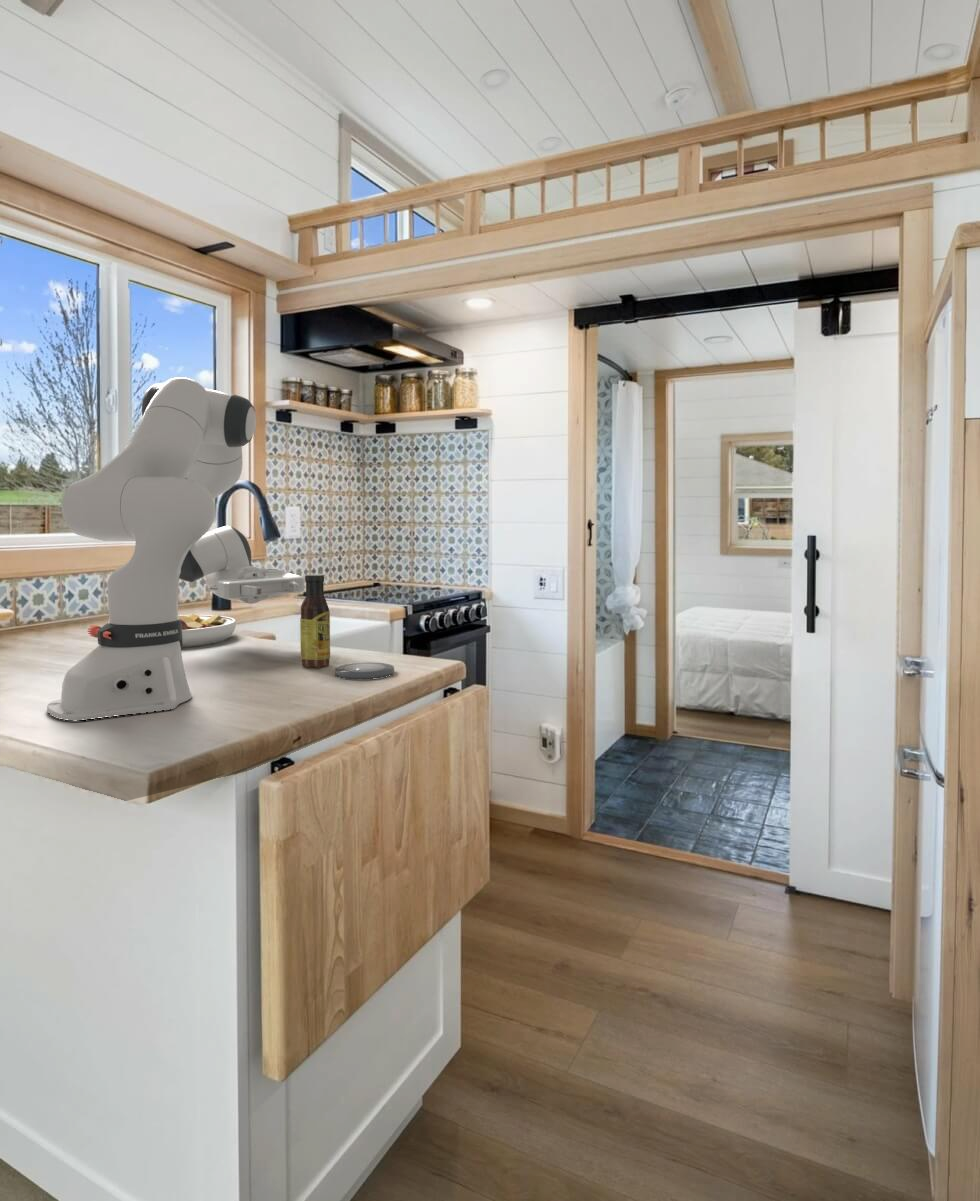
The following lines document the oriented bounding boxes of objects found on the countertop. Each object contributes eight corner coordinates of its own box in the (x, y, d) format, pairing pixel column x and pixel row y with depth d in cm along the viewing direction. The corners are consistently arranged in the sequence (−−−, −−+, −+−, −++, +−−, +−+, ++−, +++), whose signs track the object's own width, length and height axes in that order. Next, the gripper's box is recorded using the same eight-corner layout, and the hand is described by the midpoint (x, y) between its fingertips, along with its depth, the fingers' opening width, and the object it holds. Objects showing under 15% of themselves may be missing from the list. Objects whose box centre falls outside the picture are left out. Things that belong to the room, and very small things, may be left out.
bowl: (113, 636, 207) (111, 607, 206) (229, 629, 219) (228, 602, 218) (109, 655, 180) (107, 622, 179) (242, 646, 192) (241, 615, 191)
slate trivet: (357, 682, 149) (357, 676, 149) (323, 673, 158) (323, 667, 158) (405, 673, 158) (405, 667, 158) (371, 665, 166) (371, 659, 166)
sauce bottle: (323, 669, 162) (321, 576, 160) (295, 668, 163) (293, 575, 161) (335, 663, 168) (333, 573, 166) (309, 662, 170) (306, 573, 167)
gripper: (205, 574, 174) (233, 578, 164) (286, 568, 188) (316, 572, 178) (206, 601, 175) (234, 607, 165) (287, 594, 189) (317, 599, 179)
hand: (277, 589), depth 172 cm, fingers open, 8 cm apart
